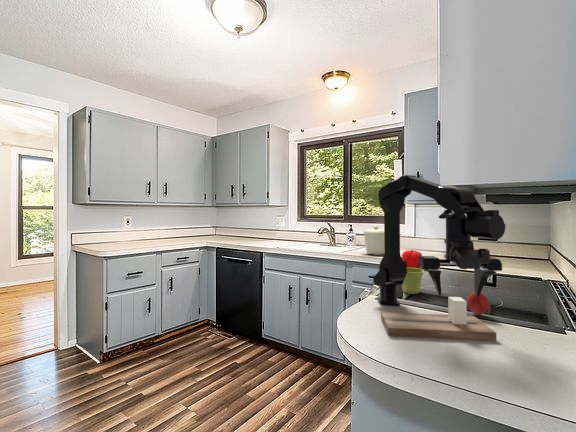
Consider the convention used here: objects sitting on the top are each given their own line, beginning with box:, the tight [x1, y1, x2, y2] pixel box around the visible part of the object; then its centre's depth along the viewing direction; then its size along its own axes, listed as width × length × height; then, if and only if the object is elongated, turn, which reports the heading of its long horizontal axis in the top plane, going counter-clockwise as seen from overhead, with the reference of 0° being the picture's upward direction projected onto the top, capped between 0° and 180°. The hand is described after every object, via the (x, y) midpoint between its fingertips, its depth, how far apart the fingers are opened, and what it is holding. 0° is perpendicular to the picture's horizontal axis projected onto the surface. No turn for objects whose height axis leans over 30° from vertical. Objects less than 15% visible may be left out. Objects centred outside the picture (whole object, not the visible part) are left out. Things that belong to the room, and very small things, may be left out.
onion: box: [465, 290, 490, 316], centre depth 92 cm, size 6×6×8 cm
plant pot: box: [401, 268, 425, 295], centre depth 119 cm, size 9×9×9 cm
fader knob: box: [447, 296, 468, 325], centre depth 81 cm, size 4×3×6 cm
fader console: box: [380, 311, 497, 342], centre depth 82 cm, size 12×25×2 cm, turn 82°
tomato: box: [401, 249, 423, 269], centre depth 168 cm, size 11×13×10 cm
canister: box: [362, 224, 385, 256], centre depth 222 cm, size 18×18×21 cm
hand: (458, 295), depth 80 cm, fingers open, 9 cm apart
